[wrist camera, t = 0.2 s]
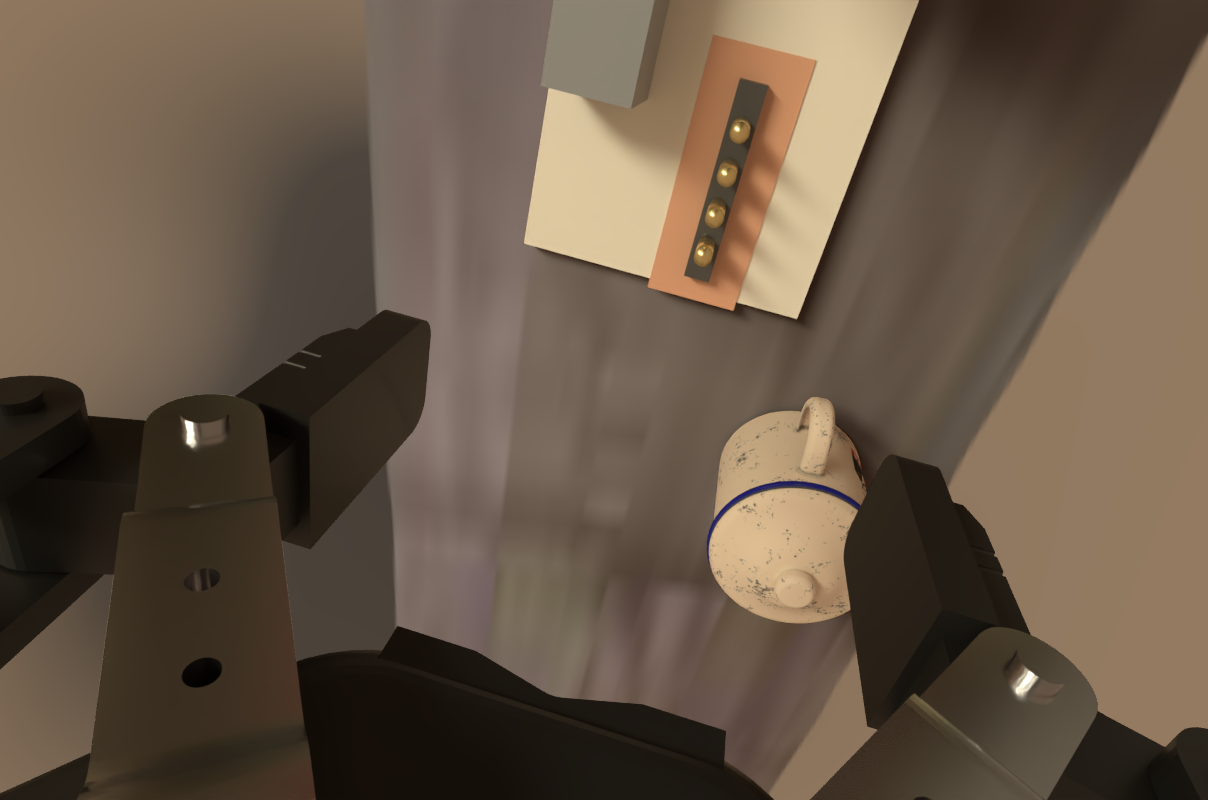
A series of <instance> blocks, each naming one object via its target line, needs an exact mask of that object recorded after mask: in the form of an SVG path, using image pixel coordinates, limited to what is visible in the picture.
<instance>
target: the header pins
mask: <svg viewBox="0 0 1208 800" xmlns="http://www.w3.org/2000/svg"><path fill="white" fill-rule="evenodd" d="M750 127H751V124H750V121H749V120H748V119H747V118H746V117H743V116H741V117H738V118H736V119H735V120H734V121H733V123H732V126H731V129H730V138H731V140H732V141H733V142H735V143H738V144H740V143H743V142H745V141H746V140H747V139H748V137H749V134H750ZM737 171H738V164H737V162H736V161H735V160H734V159H731V158H728V159H725V160H724V161H723V162H722V163H721V165H720V168H719V171H718V174H717V181H718V183H719V184H720V185H721V186H723V187H729V186H731V185H733V184H734V182H735V181H736V177H737ZM725 211H726V203H725V201H724V200H723V199H721V198H715V199H713V200H712V201H711V202H710V203H709V206H708V209H707V212H706V216H705V222H706V224H707V225H708V226H709V227H711V228H717V227H719V226H721V225H722V223H723V221H724V216H725ZM714 247H715V241H714V239H713V238H712V237H711V236H703V237H701V238H700V239H699V241H698V244H697V248H696V251H695V254H694V262H695V263H696V264H697V265H698V266H701V267H704V266H707V265H709V264H710V262H711V260H712V256H713V252H714Z"/></svg>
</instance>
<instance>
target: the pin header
mask: <svg viewBox="0 0 1208 800" xmlns="http://www.w3.org/2000/svg"><path fill="white" fill-rule="evenodd" d="M768 86H769V85H767V84H763V83H759V82H755V81H751V80H747V79H744V78H740V80H739V83H738V87H737V90H736V94H735V97H734V101H733V104H732V108H731V111H730V115H729V118H728V122H727V125H726V129H725V132H724V136H723V139H722V143H721V146H720V150H719V153H718V157H717V161H716V164H715V168H714V171H713V175H712V178H711V182H710V185H709V189H708V192H707V196H706V199H705V203H704V206H703V210H702V213H701V217H700V220H699V224H698V227H697V231H696V234H695V238H694V241H693V245H692V248H691V252H690V255H689V259H688V262H687V266H686V270H685V273H684V276H686V277H690V278H694V279H697V280H701V281H705V282H708V283H709V280H710V277H711V273H712V270H713V267H714V263H715V260H716V257H717V254H718V250H719V247H720V244H721V241H722V237H723V234H724V231H725V227H726V224H727V221H728V218H729V214H730V211H731V208H732V204H733V201H734V198H735V195H736V191H737V188H738V185H739V181H740V178H741V175H742V172H743V168H744V165H745V162H746V158H747V155H748V152H749V149H750V145H751V142H752V139H753V136H754V132H755V129H756V126H757V122H758V119H759V116H760V113H761V109H762V106H763V103H764V99H765V96H766V93H767V90H768ZM741 116H743V117H746V118H747V119H748V120H749V121H750V124H751V127H750V134H749V137H748V139H747V140H746V141H745V142H743V143H740V144H738V143H735V142H733V141H732V140H731V138H730V129H731V126H732V123H733V121H734V120H735V119H736V118H738V117H741ZM728 158H731V159H734V160H735V161H736V162H737V164H738V171H737V177H736V181H735V182H734V184H733V185H731V186H729V187H723V186H721V185H720V184H719V183H718V181H717V174H718V171H719V168H720V165H721V163H722V162H723V161H724V160H725V159H728ZM715 198H721V199H723V200H724V201H725V203H726V211H725V216H724V221H723V223H722V225H721V226H719V227H717V228H711V227H709V226H708V225H707V224H706V222H705V216H706V212H707V209H708V206H709V203H710V202H711V201H712V200H713V199H715ZM703 236H711V237H712V238H713V239H714V241H715V247H714V252H713V256H712V260H711V262H710V264H709V265H707V266H704V267H701V266H698V265H697V264H696V263H695V262H694V254H695V251H696V248H697V244H698V241H699V239H700V238H701V237H703Z"/></svg>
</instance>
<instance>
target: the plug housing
mask: <svg viewBox="0 0 1208 800" xmlns="http://www.w3.org/2000/svg"><path fill="white" fill-rule="evenodd" d="M669 2H670V0H554V2H553V8H552V15H551V21H550V28H549V34H548V41H547V47H546V54H545V60H544V67H543V73H542V80H541V86H543V87H547V88H551V89H555V90H559V91H562V92H566V93H570V94H574V95H578V96H582V97H586V98H589V99H593V100H597V101H601V102H605V103H609V104H613V105H616V106H620V107H624V108H628V109H632V108H634V107H636V106H637V105H639V104H641V103H642V102H644V101H646V100H647V99H648V94H649V90H650V86H651V81H652V77H653V72H654V68H655V63H656V59H657V55H658V50H659V46H660V41H661V37H662V33H663V28H664V24H665V19H666V15H667V11H668V6H669Z"/></svg>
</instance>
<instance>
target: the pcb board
mask: <svg viewBox="0 0 1208 800" xmlns="http://www.w3.org/2000/svg"><path fill="white" fill-rule="evenodd" d="M918 2H919V0H670V2H669V6H668V11H667V15H666V19H665V24H664V28H663V33H662V37H661V41H660V46H659V50H658V55H657V59H656V63H655V68H654V72H653V77H652V81H651V86H650V90H649V94H648V99H647V100H646V101H644V102H642V103H641V104H639V105H637V106H636V107H634V108H632V109H628V108H624V107H620V106H616V105H613V104H609V103H605V102H601V101H597V100H593V99H589V98H586V97H582V96H578V95H574V94H570V93H566V92H562V91H559V90H555V89H551V88H549V90H548V97H547V103H546V109H545V115H544V122H543V128H542V134H541V140H540V147H539V153H538V159H537V165H536V172H535V178H534V184H533V190H532V197H531V203H530V209H529V216H528V222H527V228H526V234H525V241H524V244H528V245H531V246H535V247H539V248H542V249H546V250H549V251H553V252H557V253H560V254H564V255H567V256H571V257H575V258H578V259H582V260H585V261H589V262H593V263H596V264H600V265H604V266H607V267H611V268H614V269H618V270H622V271H625V272H629V273H632V274H636V275H640V276H643V277H647V278H650V280H649V284H648V287H649V288H653V289H656V290H660V291H663V292H667V293H671V294H674V295H678V296H681V297H685V298H689V299H692V300H696V301H699V302H703V303H707V304H710V305H714V306H717V307H721V308H725V309H728V310H732V311H733V310H734V307H735V304H736V302H737V303H741V304H744V305H748V306H752V307H755V308H759V309H762V310H766V311H770V312H773V313H777V314H780V315H784V316H788V317H791V318H795V319H797V318H798V315H799V313H800V310H801V308H802V305H803V302H804V300H805V297H806V295H807V292H808V289H809V287H810V284H811V281H812V279H813V276H814V274H815V271H816V268H817V266H818V263H819V261H820V258H821V255H822V253H823V250H824V248H825V245H826V242H827V240H828V237H829V234H830V232H831V229H832V227H833V224H834V221H835V219H836V216H837V214H838V211H839V208H840V206H841V203H842V200H843V198H844V195H845V193H846V190H847V187H848V185H849V182H850V180H851V177H852V174H853V172H854V169H855V167H856V164H857V161H858V159H859V156H860V153H861V151H862V148H863V146H864V143H865V140H866V138H867V135H868V133H869V130H870V127H871V125H872V122H873V119H874V117H875V114H876V112H877V109H878V106H879V104H880V101H881V99H882V96H883V93H884V91H885V88H886V86H887V83H888V80H889V78H890V75H891V72H892V70H893V67H894V65H895V62H896V59H897V57H898V54H899V52H900V49H901V46H902V44H903V41H904V38H905V36H906V33H907V31H908V28H909V25H910V23H911V20H912V18H913V15H914V12H915V10H916V7H917V4H918ZM740 78H744V79H747V80H751V81H755V82H759V83H763V84H767V85H769V86H768V90H767V93H766V96H765V99H764V103H763V106H762V109H761V113H760V116H759V119H758V122H757V126H756V129H755V132H754V136H753V139H752V142H751V145H750V149H749V152H748V155H747V158H746V162H745V165H744V168H743V172H742V175H741V178H740V181H739V185H738V188H737V191H736V195H735V198H734V201H733V204H732V208H731V211H730V214H729V218H728V221H727V224H726V227H725V231H724V234H723V237H722V241H721V244H720V247H719V250H718V254H717V257H716V260H715V263H714V267H713V270H712V273H711V277H710V280H709V283H708V282H705V281H701V280H697V279H694V278H690V277H686V276H684V273H685V270H686V266H687V262H688V259H689V255H690V252H691V248H692V245H693V241H694V238H695V234H696V231H697V227H698V224H699V220H700V217H701V213H702V210H703V206H704V203H705V199H706V196H707V192H708V189H709V185H710V182H711V178H712V175H713V171H714V168H715V164H716V161H717V157H718V153H719V150H720V146H721V143H722V139H723V136H724V132H725V129H726V125H727V122H728V118H729V115H730V111H731V108H732V104H733V101H734V97H735V94H736V90H737V87H738V83H739V80H740Z"/></svg>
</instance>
